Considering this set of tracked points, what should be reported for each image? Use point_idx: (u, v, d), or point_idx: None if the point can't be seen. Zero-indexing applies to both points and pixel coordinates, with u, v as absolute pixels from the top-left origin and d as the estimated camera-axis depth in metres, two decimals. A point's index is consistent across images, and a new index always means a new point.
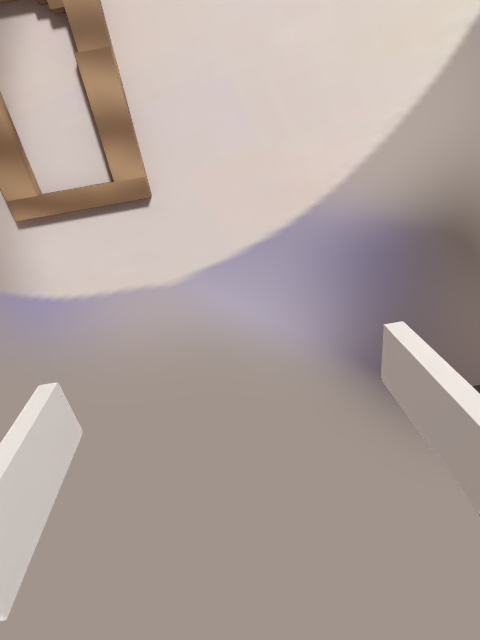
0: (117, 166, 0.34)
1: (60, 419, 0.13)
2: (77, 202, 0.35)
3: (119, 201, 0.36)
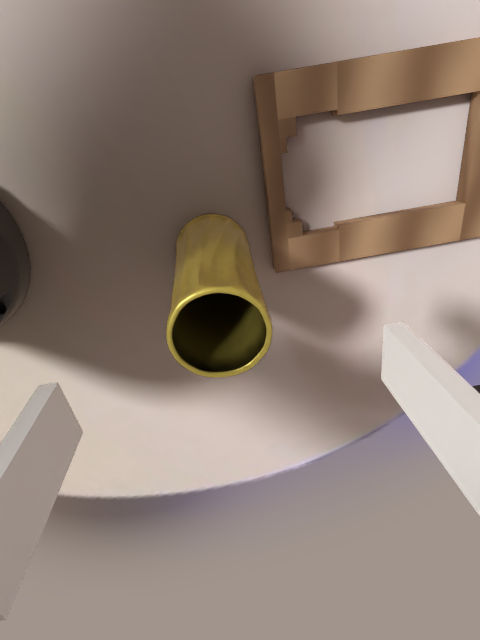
0: (466, 80, 0.24)
1: (60, 419, 0.13)
2: None
3: None
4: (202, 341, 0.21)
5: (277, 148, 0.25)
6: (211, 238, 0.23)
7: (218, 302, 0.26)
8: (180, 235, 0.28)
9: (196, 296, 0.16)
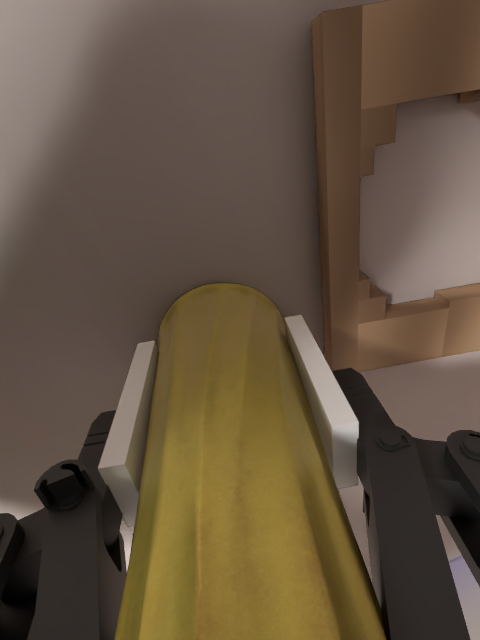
0: None
1: None
2: None
3: None
4: None
5: (354, 167, 0.13)
6: (225, 369, 0.10)
7: None
8: (165, 320, 0.16)
9: None
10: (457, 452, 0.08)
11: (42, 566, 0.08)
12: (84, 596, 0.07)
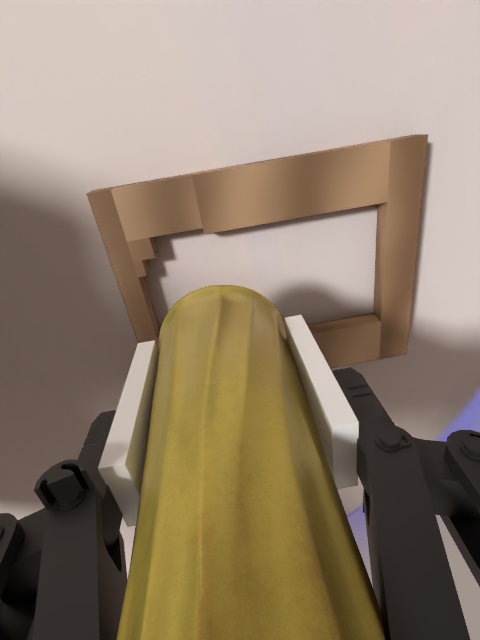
0: (365, 192, 0.19)
1: None
2: (403, 267, 0.22)
3: (419, 197, 0.20)
4: None
5: (132, 272, 0.20)
6: (226, 372, 0.10)
7: None
8: (166, 322, 0.16)
9: None
10: (457, 452, 0.08)
11: (42, 566, 0.08)
12: (85, 596, 0.07)
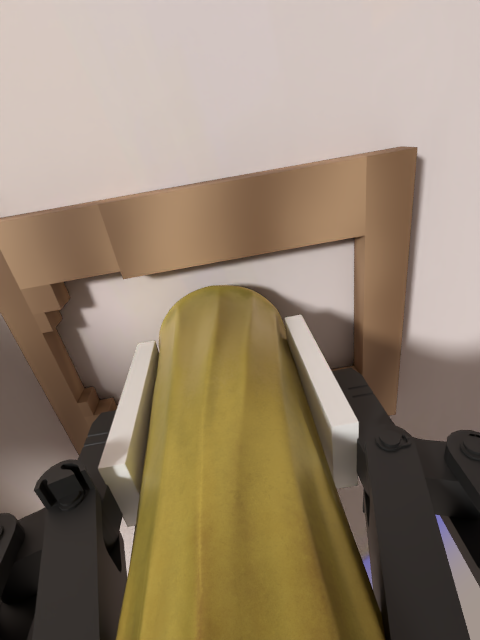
0: (335, 223, 0.15)
1: None
2: (388, 315, 0.17)
3: (407, 228, 0.15)
4: None
5: (33, 327, 0.15)
6: (225, 372, 0.10)
7: None
8: (166, 322, 0.16)
9: None
10: (457, 452, 0.08)
11: (42, 565, 0.08)
12: (85, 596, 0.07)
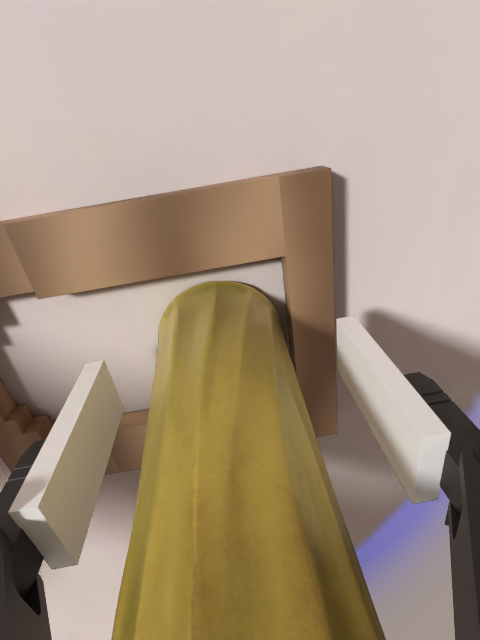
0: (252, 244, 0.14)
1: (107, 394, 0.14)
2: (319, 335, 0.17)
3: (329, 249, 0.15)
4: None
5: None
6: (221, 362, 0.11)
7: None
8: (165, 317, 0.16)
9: None
10: None
11: None
12: None
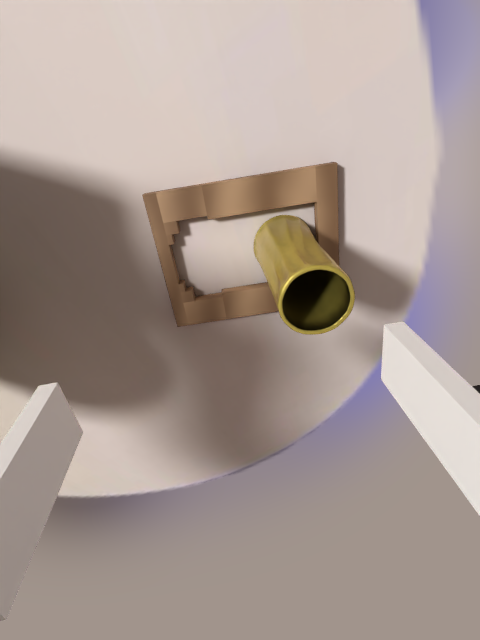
0: (302, 195, 0.33)
1: (60, 419, 0.13)
2: (331, 242, 0.35)
3: (336, 199, 0.33)
4: (292, 310, 0.27)
5: (165, 241, 0.34)
6: (294, 233, 0.29)
7: (293, 285, 0.32)
8: (259, 232, 0.35)
9: (304, 271, 0.22)
10: None
11: None
12: None
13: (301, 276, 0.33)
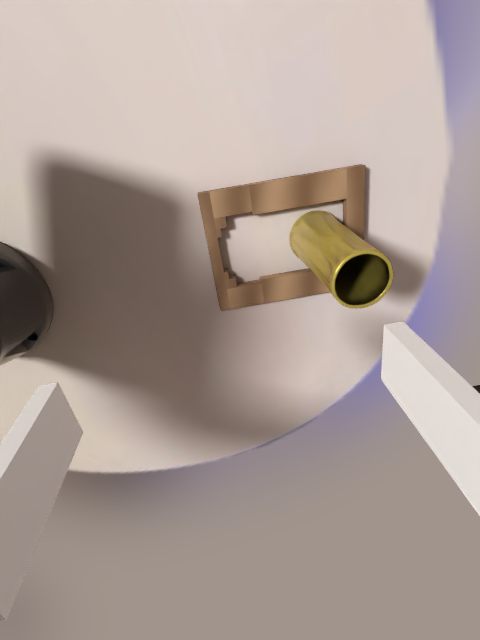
0: (334, 193, 0.38)
1: (60, 419, 0.13)
2: (357, 234, 0.40)
3: (363, 196, 0.38)
4: (336, 290, 0.32)
5: (215, 234, 0.39)
6: (333, 225, 0.35)
7: None
8: (295, 225, 0.40)
9: (354, 255, 0.28)
10: None
11: None
12: None
13: None
